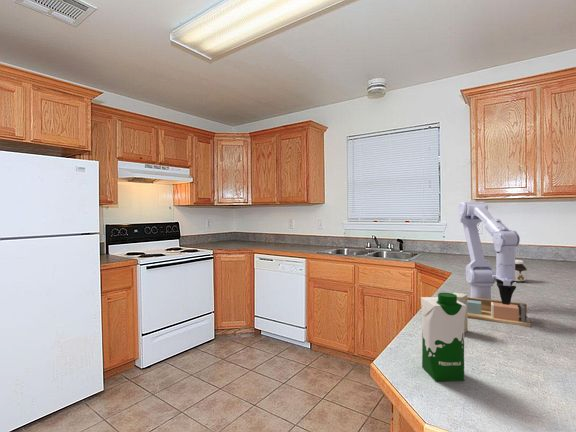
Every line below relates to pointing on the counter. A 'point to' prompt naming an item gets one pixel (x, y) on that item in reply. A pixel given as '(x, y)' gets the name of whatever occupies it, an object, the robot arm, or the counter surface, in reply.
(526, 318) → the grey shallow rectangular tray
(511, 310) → the boxed book
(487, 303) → the shelf
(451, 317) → the milk carton
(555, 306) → the counter surface
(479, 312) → the pale blue cube
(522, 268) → the spread jar
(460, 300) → the skincare box
